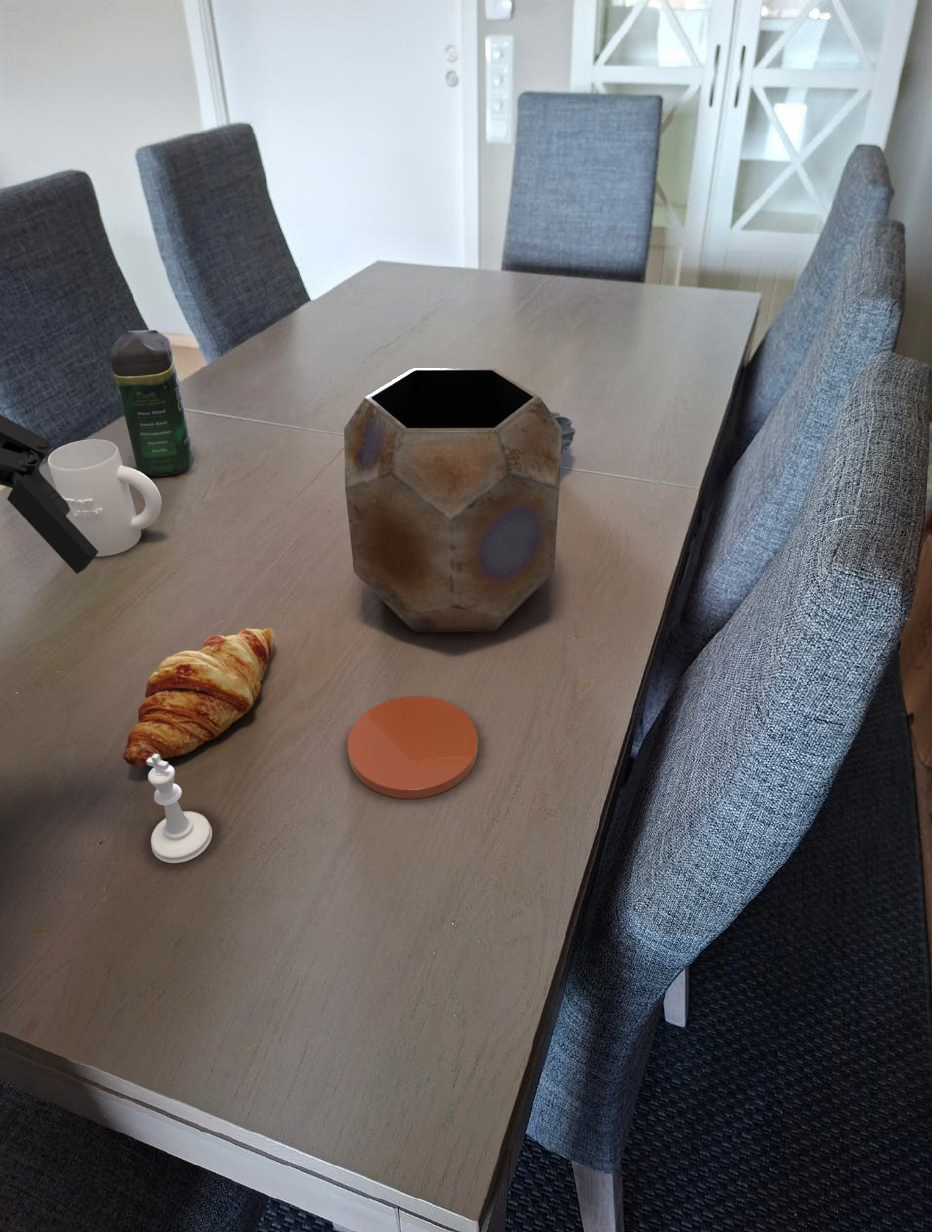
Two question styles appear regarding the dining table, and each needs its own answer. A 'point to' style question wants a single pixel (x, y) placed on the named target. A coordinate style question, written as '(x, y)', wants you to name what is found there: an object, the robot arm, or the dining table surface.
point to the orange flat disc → (412, 747)
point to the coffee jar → (152, 402)
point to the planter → (453, 496)
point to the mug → (103, 494)
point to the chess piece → (175, 819)
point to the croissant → (199, 694)
